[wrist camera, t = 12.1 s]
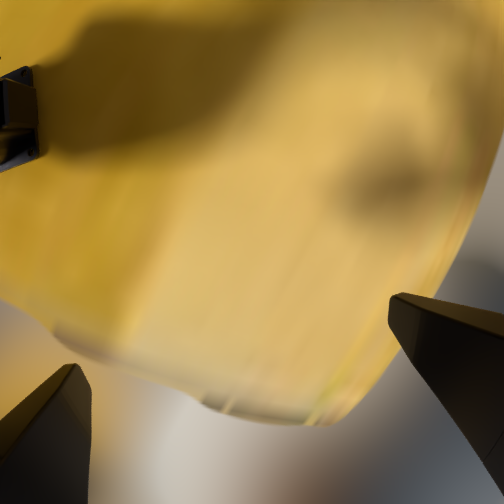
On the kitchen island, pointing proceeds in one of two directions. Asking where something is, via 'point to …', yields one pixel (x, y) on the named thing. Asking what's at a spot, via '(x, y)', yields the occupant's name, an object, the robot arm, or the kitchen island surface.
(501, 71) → the kitchen island surface
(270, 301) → the kitchen island surface
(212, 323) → the kitchen island surface
